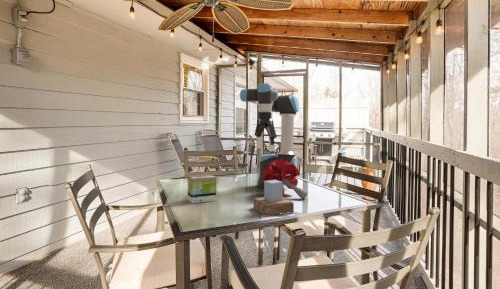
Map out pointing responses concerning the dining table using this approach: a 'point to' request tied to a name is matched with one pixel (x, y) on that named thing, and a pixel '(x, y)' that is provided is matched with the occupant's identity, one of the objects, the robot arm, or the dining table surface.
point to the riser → (273, 206)
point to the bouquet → (284, 175)
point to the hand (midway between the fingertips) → (265, 149)
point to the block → (273, 190)
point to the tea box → (202, 188)
